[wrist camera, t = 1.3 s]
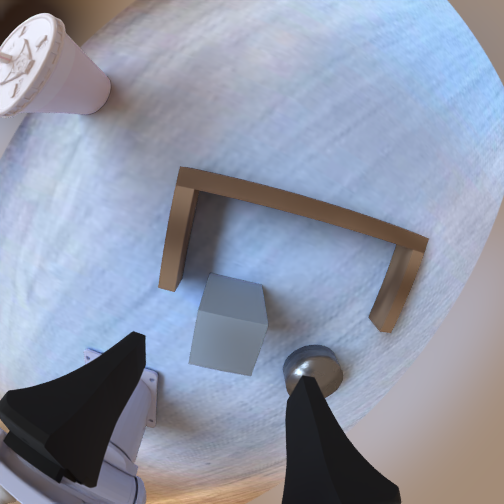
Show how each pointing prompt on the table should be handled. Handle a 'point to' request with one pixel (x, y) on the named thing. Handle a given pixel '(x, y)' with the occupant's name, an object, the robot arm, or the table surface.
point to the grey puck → (313, 368)
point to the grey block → (229, 325)
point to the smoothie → (48, 72)
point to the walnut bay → (196, 180)
